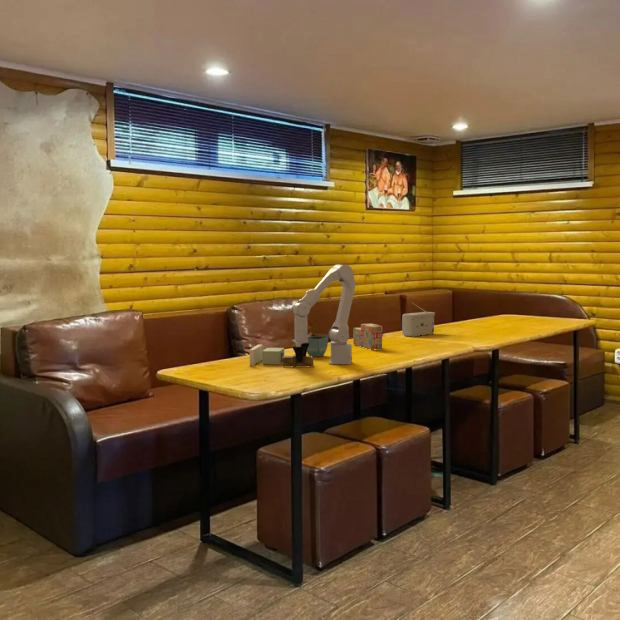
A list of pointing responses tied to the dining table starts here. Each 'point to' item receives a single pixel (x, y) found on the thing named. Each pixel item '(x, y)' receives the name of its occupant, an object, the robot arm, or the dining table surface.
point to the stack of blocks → (368, 336)
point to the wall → (255, 354)
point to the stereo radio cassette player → (418, 323)
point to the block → (272, 355)
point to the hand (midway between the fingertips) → (301, 361)
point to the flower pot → (317, 346)
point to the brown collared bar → (293, 361)
